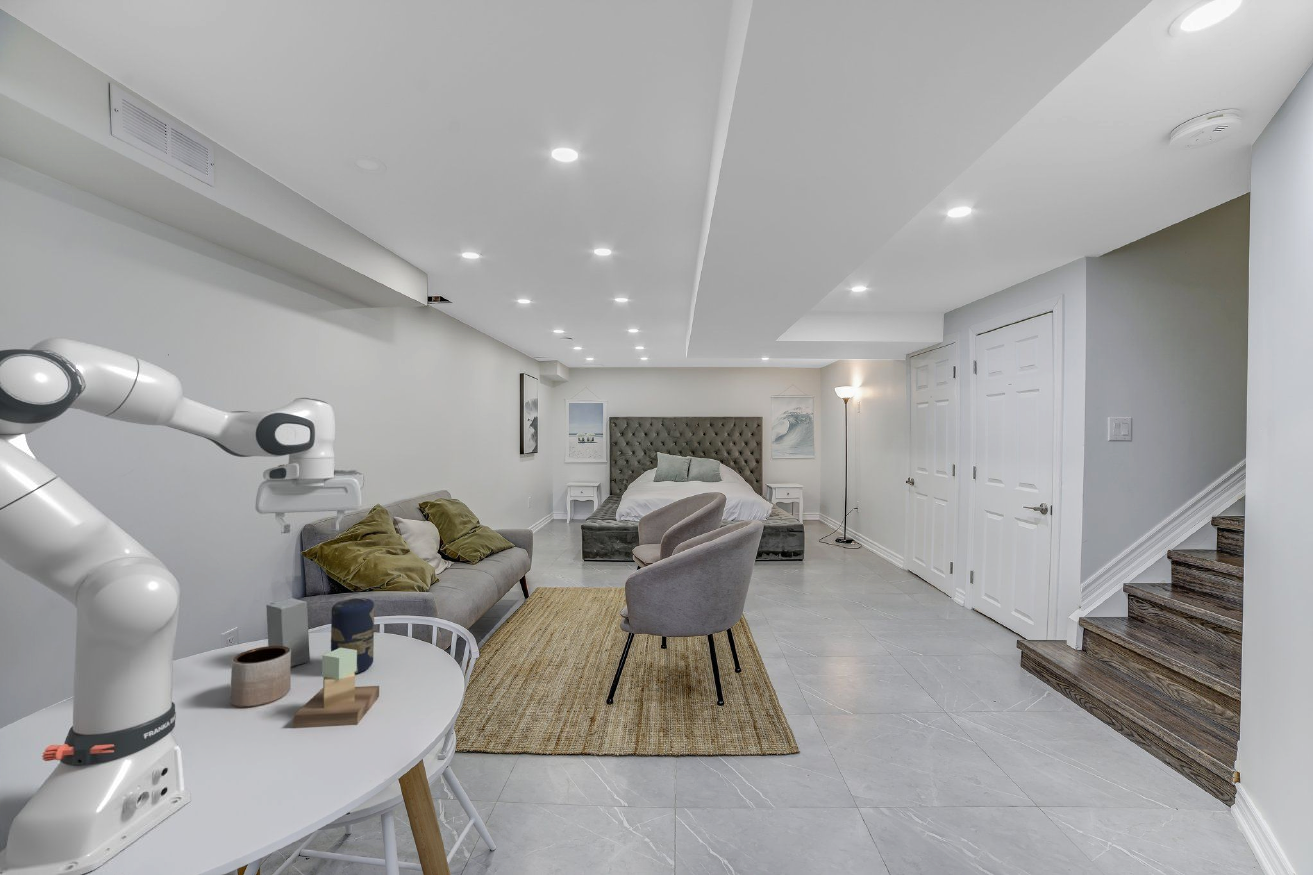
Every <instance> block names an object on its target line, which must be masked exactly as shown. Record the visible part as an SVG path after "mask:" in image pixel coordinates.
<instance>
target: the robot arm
mask: <svg viewBox="0 0 1313 875" xmlns="http://www.w3.org/2000/svg"><path fill="white" fill-rule="evenodd" d="M68 409H75V410H80V411H83V412H85V413H86V412H87V413H90V414H94V415H97V416H100V417H104V418H108V419H112V420H115V421H121V422H126V423H131V424H138V425H147V426H163V427H169V428H172V429H174V430H175V429H176V430H178V431H181V432H185V433H188V434H191V435H194V436H198V437H201V438H204V439H207V440H209V441H210V442H212V443H213V444H215V445H216V446H218V447H219V448H220V449H221V450H223V451H224V452H225V453H227V454H229V455H232V456H235V457H240V458H249V457H267V458H268V457H269V458H270V457H273V458H277V457H284V456H288V463H287V464H279V465H277V466H275V467H274V466H273V467H270V468H267V469H265V470H264V471H263V474H262V477H263V479H264V481H262V482H261V483H260V484H259V486H258V488H257V492H256V496H255V497H256V499H255V510H256V512H258V513H259V514H263V515H264V514H275V518H274V519H275V520H276V522H277V523H278V525H279V526H280V533H281V534H290V533H291V524H290V523H288V524H287V523H286V522H285V520H284V519H283V518H284V517H285V516H286V515H285V513H286V514H289V513H290V514H291V513H313V512H315V513H316V512H317V513H318V512H336V515H337V516H338V518H337V520H336V521H334V522H331V523H330V527H331V528H330V531H331V532H337V531H339V530H340V523H341V521H342V519H343V517H345V514H346V512H345V511H358V510H360V509H362V505H363V496H362V489H363V488H364V485H365V476H364V474H362V473H361V472H359V471H357V470H355V469H351V470H343V469H342V470H339V469H338V470H336V468H335V467H336V466H335V465H336V463H335V462H336V455H335V452H334V443H335V441H336V417H335V412H334V409H333V407H332V405H330V404H329V402H326V401H325V400H324V401H323V400H320V399H316V398H309V397H298V398H295V399H293V401H292V402H290V403H288V404H286V405H283V406H281V407H278V408H275V409H271V410H270V411H248V410H247V411H246V410H243V411H242V410H240V411H239V410H237V411H236V410H235V411H224V410H220V409H217V408H214V407H212V406H209V405H208V404H207V405H206V404H204V403H202V402H201V403H200V402H199V401H195V400H192V399H189V398H188V397H185V396H184V389H183V385H182V384H181V381H180V379H179V378H178V377H177V376H176V375H175V374H173V373H171V372H169V370H166V369H164V368H162V367H160V366H158V365H156V364H153V363H152V362H149V361H146V360H144V359H142V358H140V357H136V356H133V355H130V354H127V353H124V352H121V351H118V350H114V349H111V348H108V347H104V346H101V345H96V344H93V343H88V342H83V341H80V340H79V341H78V340H74V339H69V338H62V337H53V338H52V337H51V338H46V339H44V340H41V341H39V342H38V343H36V344H34V345H32V346H31V347H30V348H29V349H24V348H22V349H19V348H18V349H17V348H15V349H14V348H13V349H11V348H10V349H1V350H0V559H1V560H2V561H3V562H5V563H6V564H8V566H10V567H12V568H13V569H14V570H16V571H18V572H20V573H22V574H24V575H26V576H27V577H29V578H31V579H33V580H35V581H36V582H38V583H40V584H41V585H43V586H45V587H46V588H48V589H50V590H51V591H53V592H55V593H56V594H57V595H59V596H60V597H63V598H64V599H65V600H67V601H68V602H70V603H71V604H72V605H73V606H74V608H76V634H75V635H76V637H75V640H76V641H75V656H74V660H75V661H74V671H73V672H74V673H73V674H74V675H73V676H74V677H73V702H72V704H73V706H72V707H73V708H72V711H73V712H72V726H71V727H70V728H69V730H68V733H67V735H66V737H65V740H64V743H63V744H50V745H48V746H47V747H46V748H45V749H44V752H42V756H41V758H42V761H44V762H51V761H53V760H56V761H59V763H58V764H57V766H56V767H55V768H54V769H53V771H52V772H51V773H50V774H49V775H48V777H47V778H46V779H45V780H44V782H43V783H42V785H40V787H39V788H38V789H37V790H36V792H35V793H34V794H33V795H32V796H31V798H30V799H29V800H28V801H27V803H26V804H25V805H24V806H23V808H22V809H21V810H20V811H19V812H18V814H17V815H15V817H14V819H13V820H12V822H11V825H10V827H9V830H8V835H7V839H6V840H7V842H6V847H4V849H2V850H1V851H0V874H1V875H84V874H86V873H89V872H91V871H94V870H96V869H97V868H99V867H101V866H102V865H104V864H105V863H106V862H108V861H109V860H111V859H112V858H113V857H115V856H116V855H118V854H119V853H121V851H123V850H124V849H126V848H127V847H128V846H130V845H131V844H133V843H134V842H135V841H137V840H138V839H140V838H141V837H142V836H144V835H145V834H147V833H148V832H149V831H151V830H152V829H153V828H155V827H156V826H158V825H159V824H160V823H162V822H163V821H165V820H166V819H167V818H168V817H170V816H171V815H173V814H174V813H176V812H177V811H178V810H180V809H181V808H183V807H184V806H185V805H187V804H188V803H189V802H190V801H191V800H192V795H191V791H190V790H189V789H188V788H186V787H185V783H184V770H183V761H182V760H183V759H182V751H181V748H180V746H179V744H178V743H177V741H176V739H175V736H174V733H173V730H174V729H175V727H176V719H177V718H176V717H177V711H176V704H175V702H173V668H174V652H175V646H176V640H177V639H176V638H177V631H178V621H179V612H180V611H179V610H180V601H181V600H180V598H181V589H180V583H179V581H178V580H177V578H176V577H175V576H174V574H172V572H171V571H170V570H169V568H167V566H166V565H165V564H164V562H162V561H161V560H160V559H159V558H158V557H156V556H155V555H154V554H152V552H151V551H149V549H146V547H144V546H143V545H142V544H141V543H139V541H137V540H136V539H134V538H133V537H132V536H131V535H130V534H128V533H127V532H126V531H125V530H123V528H121V527H119V525H117V524H116V523H115V522H113V521H112V520H111V519H110V518H108V517H107V516H106V515H105V514H103V513H102V512H101V511H100V510H99V509H97V507H96V506H94V505H93V504H92V503H91V502H89V501H88V500H87V499H86V498H84V496H82V495H81V494H80V493H78V492H77V491H76V490H75V489H74V488H73V487H72V486H71V485H69V483H67V482H66V481H65V480H63V479H62V478H61V477H60V476H58V475H57V474H56V473H55V472H54V471H52V470H51V469H50V468H48V467H47V466H46V465H45V464H43V463H42V462H40V461H39V460H38V459H37V458H36V457H35V455H34V454H33V452H32V451H31V450H30V448H29V446H28V443H27V439H26V435H29V434H30V433H32V432H34V431H36V430H38V429H40V428H41V427H42V426H45V425H46V424H47V423H49V422H50V421H51V420H55V419H56V418H58V417H60V416H61V415H62V414H64V413H65V412H66V411H67V410H68Z"/></svg>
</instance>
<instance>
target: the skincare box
mask: <svg viewBox="0 0 1313 875" xmlns="http://www.w3.org/2000/svg"><path fill="white" fill-rule="evenodd" d="M265 608H266V624H267V626H266V627H267V645H268V646H286V647H289V648H290V649H291V668H293V667H295V666H299V665H303V664H307V663H310V660H311V658H310V657H311V654H310V640H309V639H310V635H309V618H308V615H309V614H308V602H307V601H304V600H300V599H298V598H294V597H291V598H288V599H284V600H279V601H276V602H271V603H267V604H266V606H265Z"/></svg>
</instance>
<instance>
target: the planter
mask: <svg viewBox="0 0 1313 875" xmlns="http://www.w3.org/2000/svg"><path fill="white" fill-rule="evenodd" d="M291 668H292V667H291V649H290V648H289V647H286V646H267V645H266V646H260V647H256V648H252V649H249V650H246V651H243V652H240V653H238V654H236V655H235V656H234V657H232V659H231V674H230V675H231V678H230V697H229V699H230V703H231V704H232V705H233V706H236V707H239V708H253V707H261V706H265V705H268V704H272V703H274V702H276V701H279V700H280V699H282V698H284V696H286V695H287V694H288V693H289V692H290V690H291V682H292V681H291V677H292V676H291Z"/></svg>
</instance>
